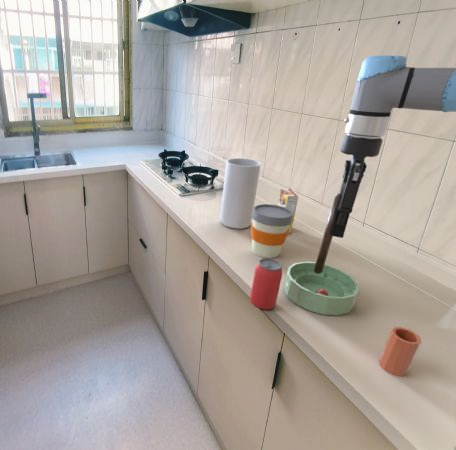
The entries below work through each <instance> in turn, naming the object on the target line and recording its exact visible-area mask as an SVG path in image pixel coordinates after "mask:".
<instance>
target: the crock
mask: <svg viewBox="0 0 456 450" xmlns="http://www.w3.org/2000/svg"><path fill="white" fill-rule="evenodd" d="M421 344H422V339H421V337H420V336H419V335H418V333H416V332H414V331H413V330H411V329H408V328H406V327H402V326H394V327H393V328H391V330H390V333H389V335H388V338H387V339H386V342H385V344H384V347H383V349H382V352H381V354H380V356H379V359H378V363H379V366H380V367H381V369H383V370H384V371H385V372H386V373H388V374H390V375H392V376H395V377H405V376H406V375H407V374H408V372H409V369H410V368H411V365H412V363H413V361H414V359H415V357H416V354H417V352H418V350H419V348H420V345H421Z"/></svg>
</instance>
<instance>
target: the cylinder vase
mask: <svg viewBox="0 0 456 450" xmlns="http://www.w3.org/2000/svg"><path fill="white" fill-rule="evenodd" d="M261 165H262V163H261V162H260V161H258V160H254V159H250V158H243V157H242V158H241V157H238V158H237V157H233V158H229V159H227V160H226V164H225V170H224V171H225V172H224V180H223V189H222V196H221V205H220V213H219V222H220V224H221V225H223V226H224V227H227V228H230V229H237V230H243V229H247V228H249V227H251V223H252V221H253V218H252V213H253V209H254V207H255V203H256V202H255V200H256V197H257V196H256V195H257V190H258V184H259V177H260V172H261Z"/></svg>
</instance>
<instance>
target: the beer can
mask: <svg viewBox="0 0 456 450" xmlns="http://www.w3.org/2000/svg"><path fill="white" fill-rule="evenodd" d="M282 267H283V265H282V264H281V262H279V261H278V260H276V259H274V258H265V257H264V258H261V259H259V260H258V263H257V264H256V266H255V268H254V274H253V280H252V285H251V290H250V296H249V301H250V303H251V305H253V306H254V307H255V308H258V309H260V310H264V311H265V310H266V311H267V310H271V309H274V308H275V307H276V305H277V300H278V296H279V292H280V291H279V290H280V287H281V282H282V277H283V268H282Z"/></svg>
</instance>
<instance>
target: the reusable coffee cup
mask: <svg viewBox="0 0 456 450" xmlns="http://www.w3.org/2000/svg"><path fill="white" fill-rule="evenodd" d="M291 222H292V212H291V211H290V210H289V209H287V208H284V207H281V206H278V204H269V203H261V204H256V205H254V208H253V213H252V221H251V225H250V238H251V252H252V253H253V254H254V255H257V256H258V257H261V258H264V259H265V258H268V259H274V258H278V256H279V254H280V253H281V249H282V248H283V247H282V246H283V245H284V244H285V242H286V240H287V237H288V234H289V233H288V232H289V225H290V224H291Z"/></svg>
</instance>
